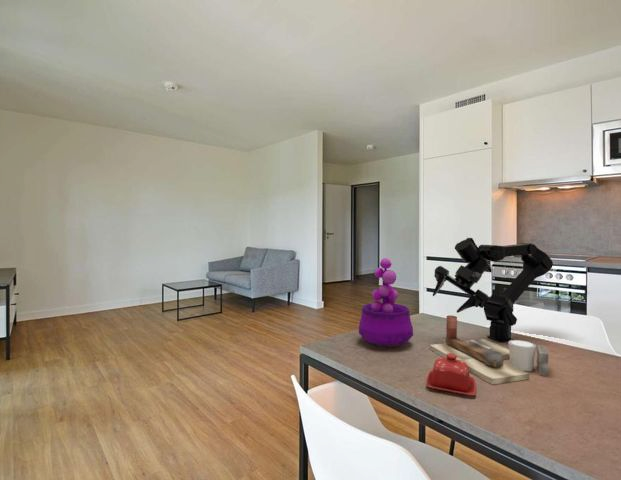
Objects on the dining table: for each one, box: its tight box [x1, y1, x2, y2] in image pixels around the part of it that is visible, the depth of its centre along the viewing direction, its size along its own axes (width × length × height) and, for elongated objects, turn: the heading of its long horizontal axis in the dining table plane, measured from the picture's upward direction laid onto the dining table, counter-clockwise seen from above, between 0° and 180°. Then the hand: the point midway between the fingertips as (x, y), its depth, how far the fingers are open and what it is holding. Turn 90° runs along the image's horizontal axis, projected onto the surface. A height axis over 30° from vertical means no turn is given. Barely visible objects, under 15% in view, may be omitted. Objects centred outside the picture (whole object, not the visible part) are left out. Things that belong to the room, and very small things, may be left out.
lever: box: [445, 315, 505, 367], centre depth 106 cm, size 22×5×9 cm, turn 16°
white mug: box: [508, 339, 537, 372], centre depth 101 cm, size 7×7×7 cm
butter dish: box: [425, 353, 477, 396], centre depth 89 cm, size 12×12×8 cm
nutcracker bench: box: [428, 338, 549, 386], centre depth 105 cm, size 24×27×6 cm
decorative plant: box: [358, 257, 414, 347], centre depth 121 cm, size 19×18×30 cm
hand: (444, 303), depth 116 cm, fingers open, 9 cm apart
